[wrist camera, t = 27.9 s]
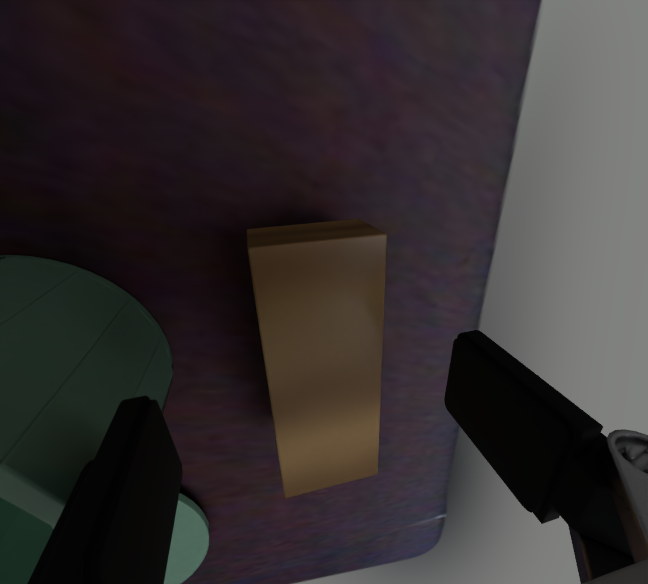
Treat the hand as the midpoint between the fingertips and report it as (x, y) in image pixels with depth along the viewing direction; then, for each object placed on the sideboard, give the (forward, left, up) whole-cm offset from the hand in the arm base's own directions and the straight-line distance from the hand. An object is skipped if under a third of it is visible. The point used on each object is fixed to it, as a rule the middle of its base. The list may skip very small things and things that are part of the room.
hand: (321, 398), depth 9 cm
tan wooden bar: (+2, +1, -7) cm, 7 cm away
